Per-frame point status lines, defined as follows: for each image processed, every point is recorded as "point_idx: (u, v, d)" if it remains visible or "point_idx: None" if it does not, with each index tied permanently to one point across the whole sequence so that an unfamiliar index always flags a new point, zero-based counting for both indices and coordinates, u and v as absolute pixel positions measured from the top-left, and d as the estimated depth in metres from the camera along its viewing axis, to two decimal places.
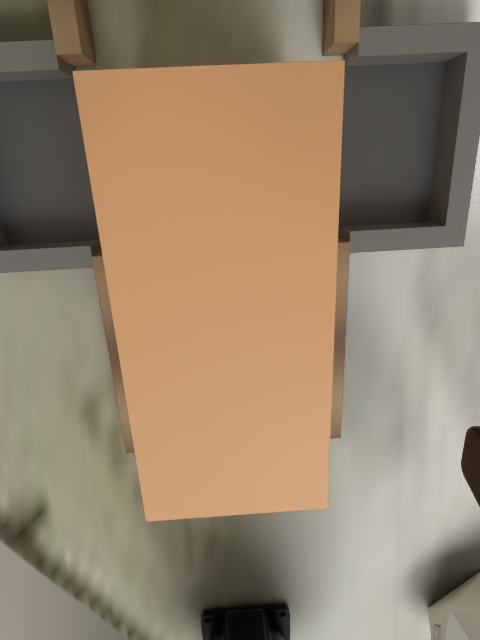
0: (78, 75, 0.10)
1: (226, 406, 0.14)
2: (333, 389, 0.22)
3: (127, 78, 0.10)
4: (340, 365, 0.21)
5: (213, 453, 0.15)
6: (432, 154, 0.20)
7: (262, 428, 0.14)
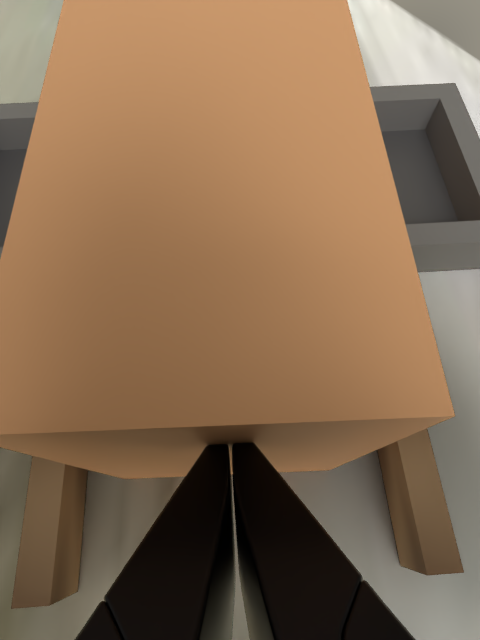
0: None
1: (198, 167, 0.08)
2: (415, 451, 0.12)
3: None
4: None
5: (165, 251, 0.07)
6: (443, 188, 0.19)
7: (265, 205, 0.07)
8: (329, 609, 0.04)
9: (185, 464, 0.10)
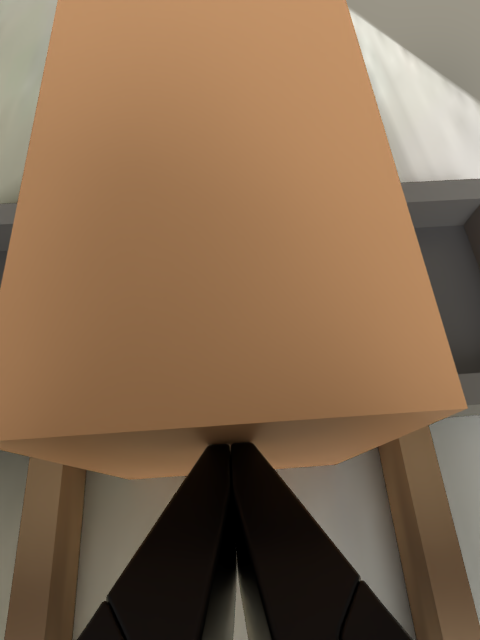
0: None
1: (201, 165, 0.08)
2: None
3: None
4: None
5: (172, 251, 0.07)
6: None
7: (271, 202, 0.07)
8: (327, 609, 0.04)
9: (193, 463, 0.10)
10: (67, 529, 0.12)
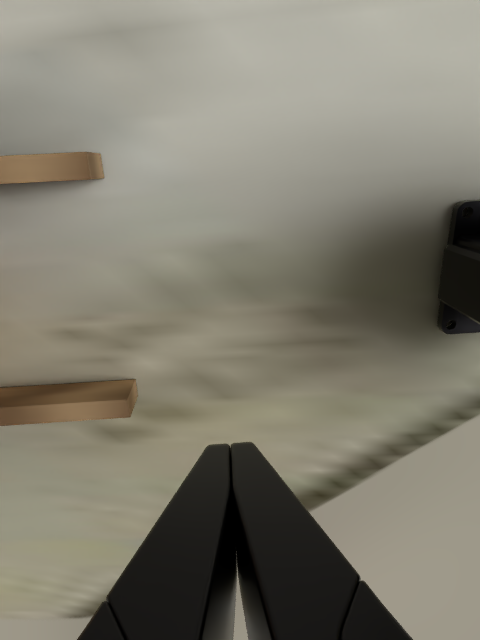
0: None
1: None
2: (6, 170, 0.16)
3: None
4: None
5: None
6: None
7: None
8: (327, 609, 0.04)
9: None
10: None
